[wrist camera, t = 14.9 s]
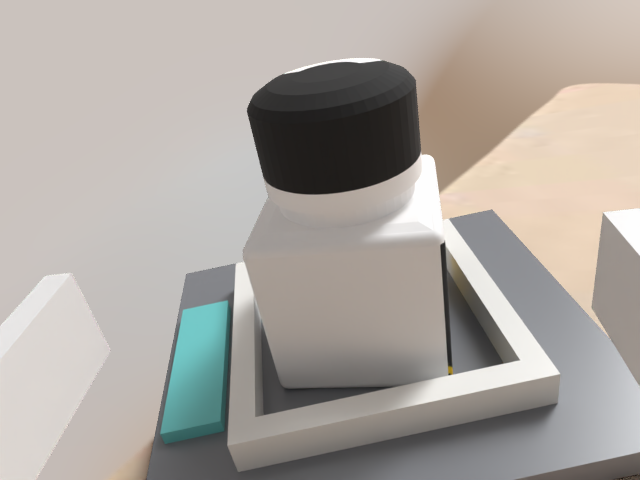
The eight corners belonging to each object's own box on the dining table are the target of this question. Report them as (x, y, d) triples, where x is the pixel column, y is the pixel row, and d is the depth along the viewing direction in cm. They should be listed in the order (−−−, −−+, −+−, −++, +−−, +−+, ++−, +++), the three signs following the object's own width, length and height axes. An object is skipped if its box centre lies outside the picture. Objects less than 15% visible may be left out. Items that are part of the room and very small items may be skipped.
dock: (492, 226, 32) (491, 187, 31) (693, 462, 18) (710, 407, 16) (192, 289, 32) (178, 253, 31) (142, 582, 17) (112, 537, 16)
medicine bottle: (454, 389, 20) (436, 86, 14) (280, 392, 22) (197, 118, 16) (442, 281, 26) (426, 35, 20) (306, 289, 28) (253, 61, 22)
